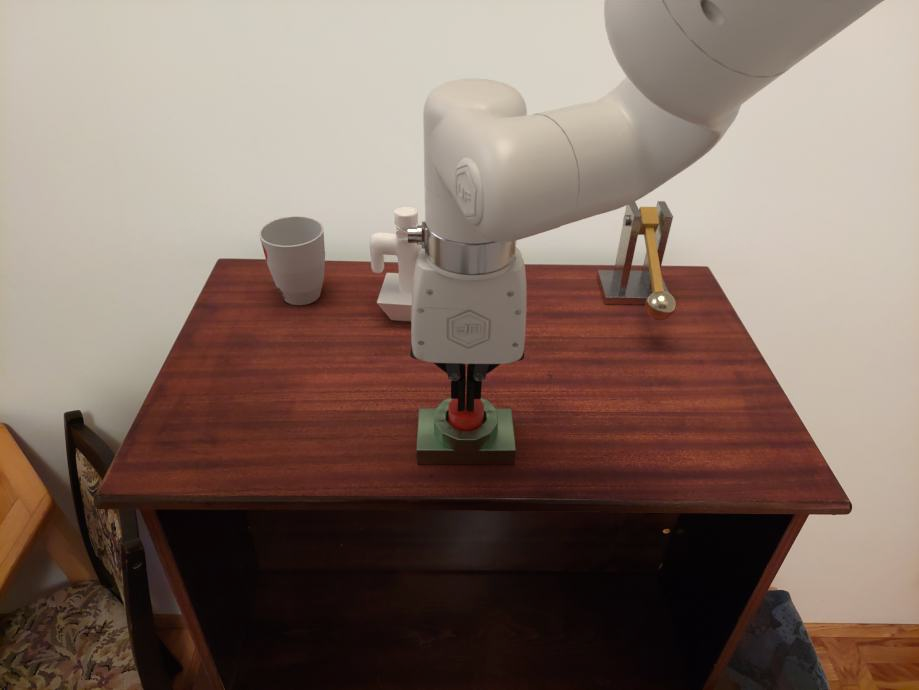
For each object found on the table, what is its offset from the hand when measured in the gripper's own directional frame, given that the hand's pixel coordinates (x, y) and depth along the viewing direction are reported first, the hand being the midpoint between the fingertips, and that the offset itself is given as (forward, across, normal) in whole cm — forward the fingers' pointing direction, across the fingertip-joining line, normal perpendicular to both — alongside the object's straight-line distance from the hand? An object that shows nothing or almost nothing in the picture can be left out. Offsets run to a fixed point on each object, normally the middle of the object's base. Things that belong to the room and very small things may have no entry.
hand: (465, 401), depth 65 cm
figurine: (+6, -7, +24) cm, 25 cm away
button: (+2, 0, 0) cm, 2 cm away
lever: (-1, +24, +24) cm, 34 cm away
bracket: (+6, +24, +29) cm, 38 cm away
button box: (+6, 0, 0) cm, 6 cm away
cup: (+6, -22, +27) cm, 36 cm away
